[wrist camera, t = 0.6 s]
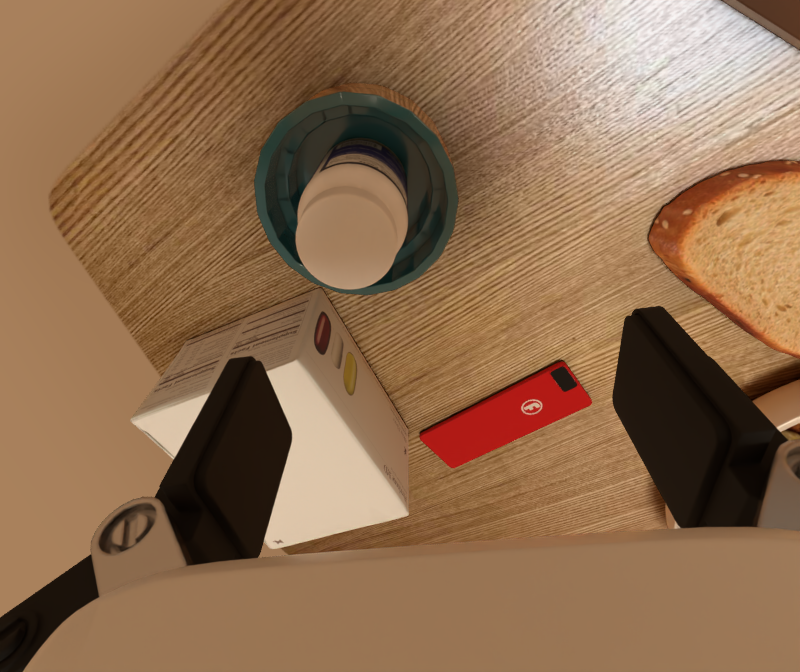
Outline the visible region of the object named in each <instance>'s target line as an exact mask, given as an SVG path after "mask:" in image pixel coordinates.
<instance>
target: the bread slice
mask: <svg viewBox="0 0 800 672" xmlns="http://www.w3.org/2000/svg"><path fill="white" fill-rule="evenodd" d="M649 242H650V244H651V246H652V248H653V250H654V252H655V253H656V254H657V255H658V256H659V257H661V258H662V260H663V261H664V263H665V264H666V265H667V266H668V267H669V268H670V270H671V271H672V272H673V273H674V274H675V275H676V276H677V277H678V278H679V279H680V280H681V281H683V282H684V283H685V284H686V285H687V286H688V287H690V288H691V289H692V290H693V291H694V292H695V293H697V294H699V295H701V296H702V297H704V298H705V299H706V300H707V301H708V302H710V303H711V304H712V305H713V306H715V307H716V308H717V309H718V310H719V311H721V312H722V313H723V314H725V315H726V316H727V317H728V318H730V319H731V320H732V321H733V322H734V323H735V324H737V325H738V326H739V327H741V328H742V329H743V330H745V331H746V332H748V333H749V334H751V335H752V336H754V337H755V338H757V339H758V340H760V341H762V342H763V343H764V344H766V345H767V346H769V347H771V348H772V349H774V350H777V351H779V352H782V353H786V354H789V355H791V356H793V357H796V358H798V359H800V161H768V162H764V163H760V164H753V165H746V166H744V167H741V168H738V169H733V170H729V171H725V172H723V173H721V174H719V175H717V176H715V177H712V178H710V179H707V180H705V181H702V182H701V183H699V184H697V185H696V186H694V187H692V188H690V189H689V190H687V191H685V192H684V193H682V194H681V195H680V196H678V197H677V198H676V199H675V200H674V201H673V202H672V203H670V204H669V205H667V206H664V207H663V209H662V211H661V213H660V214H659V216H658V217H657V219H656V220H655V222H654V224H653V227H652V229H651V231H650V235H649Z"/></svg>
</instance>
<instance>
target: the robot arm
mask: <svg viewBox="0 0 800 672" xmlns="http://www.w3.org/2000/svg"><path fill="white" fill-rule="evenodd" d="M612 398H613V405H614V408H615V411H616V413H617V414H618V416H619V418H620V420H621V422H622V424H623V426H624V427H625V429H626V431H627V433H628V435H629V437H630V438H631V440H632V442H633V444H634V446H635V448H636V449H637V451H638V453H639V455H640V457H641V459H642V461H643V462H644V464H645V466H646V468H647V470H648V472H649V473H650V475H651V477H652V479H653V481H654V483H655V485H656V486H657V488H658V490H659V492H660V494H661V496H662V497H663V499H664V501H665V503H666V505H667V507H668V508H669V510H670V512H671V514H672V516H673V518H674V520H675V521H676V523H677V524H678V526H679V527H680V528H679V529H659V530H639V531H621V532H606V533H591V534H576V535H561V536H546V537H530V538H515V539H501V540H487V541H473V542H458V543H444V544H430V545H416V546H402V547H389V548H375V549H362V550H349V551H336V552H323V553H310V554H297V555H284V556H273V557H262V558H258V556H259V555H260V552H261V549H262V545H263V542H264V539H265V535H266V532H267V528H268V524H269V521H270V517H271V514H272V510H273V507H274V503H275V500H276V496H277V493H278V489H279V486H280V482H281V479H282V475H283V472H284V468H285V465H286V461H287V458H288V454H289V451H290V447H291V443H292V430H291V428H290V425H289V423H288V421H287V418H286V416H285V414H284V411H283V409H282V407H281V405H280V402H279V400H278V398H277V395H276V393H275V391H274V388H273V386H272V384H271V382H270V379H269V377H268V375H267V372H266V370H265V368H264V366H263V364H262V362H261V361H259V360H258V361H256V360H255V358H254V357H252V356H246V357H238V358H231V359H229V360H228V362H227V363H226V365H225V367H224V369H223V371H222V372H221V374H220V376H219V378H218V380H217V382H216V383H215V385H214V387H213V389H212V391H211V393H210V394H209V396H208V398H207V400H206V402H205V403H204V405H203V407H202V409H201V411H200V413H199V414H198V416H197V418H196V420H195V422H194V424H193V425H192V427H191V429H190V431H189V433H188V435H187V436H186V438H185V440H184V442H183V444H182V446H181V447H180V449H179V451H178V453H177V455H176V456H175V458H174V460H173V462H172V464H171V466H170V467H169V469H168V471H167V473H166V475H165V477H164V479H163V480H162V482H161V484H160V488H159V490H158V492H157V494H156V496H155V497H141V498H137V499H133V500H131V501H129V502H127V503H125V504H123V505H121V506H120V507H119V508H117V509H116V510H114V511H113V512H112V513H111V514H110V515H108V516H107V517H106V518H105V520H104V521H102V523H101V524H100V526H99V527H98V528H97V530H96V531H95V533H94V536H93V538H92V541H91V555H89V556H88V557H86V558H85V559H83V560H82V561H81V562H79V563H78V564H77V565H75V566H73V567H72V568H70V569H69V570H68V571H66V572H65V573H64V574H62V575H60V576H59V577H58V578H56V579H55V580H54V581H52V582H51V583H49V584H48V585H46V586H45V587H43V588H42V589H40V590H39V591H38V592H36V593H35V594H33V595H32V596H30V597H29V598H28V599H26V600H25V601H23V602H22V603H20V604H19V605H17V606H16V607H15V608H13V609H12V610H10V611H9V612H7V613H6V614H4V615H3V616H2V617H1V618H0V672H800V439H794V440H789V441H788V440H787V438H786V437H785V436H784V435H783V434H782V433H781V432H780V431H779V430H778V429H777V428H776V427H775V426H774V424H773V423H772V422H771V421H770V420H769V419H768V418H767V417H766V416H765V415H764V414H763V413H762V411H761V410H760V409H759V408H758V407H757V406H756V405H755V404H754V403H753V402H752V401H751V400H750V398H749V397H748V396H747V395H746V394H745V393H744V392H743V391H742V390H741V389H740V388H739V387H738V385H737V384H736V383H735V382H734V381H733V380H732V379H731V378H730V377H729V376H728V375H727V374H726V372H725V371H724V370H723V369H722V368H721V367H720V366H719V365H718V364H717V363H716V362H715V361H714V360H713V359H712V358H711V357H709V356H707V354H706V353H705V352H704V351H703V350H702V349H701V348H700V347H699V346H698V345H697V344H696V342H695V341H694V340H693V339H692V338H691V337H690V336H689V335H688V334H687V333H686V332H685V330H684V329H683V328H682V327H681V326H680V325H679V324H678V323H677V322H676V321H675V320H674V318H673V317H672V316H671V315H670V314H669V313H668V312H667V311H666V310H665V309H664V308H663V307H661V306H656V307H648V308H639V309H635V310H634V311H633V312H632V315H631V316H627V317H626V318H625V321H624V327H623V333H622V339H621V346H620V352H619V358H618V364H617V371H616V377H615V383H614V390H613V397H612Z"/></svg>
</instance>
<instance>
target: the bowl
mask: <svg viewBox="0 0 800 672" xmlns="http://www.w3.org/2000/svg"><path fill="white" fill-rule="evenodd" d="M752 402H753V403H754V404H755V405H756V406H757V407H758V408H759V409H760V410H761V411H762V413H763V414H764V415H765V416H766V417H767V418H768V419H769V420H770V421H771V422H772V423H773V424H774V426H775V427H776V428H777V429H778V430H779V431H780V432H781V433H782V434H783V435H784V436H785V437H786V438H787V440H788V441H789V440H794V439H800V379H799V380H797V381H794V382H791V383H789V384H787V385H784V386H782V387H779V388H777V389H775V390H773V391H771V392H769V393H766V394H765V395H763V396H761V397H759V398H757V399H755V400H753V401H752ZM665 511H666V521H667V526H668V529H679V528H680V527H679V526H678V524H677V523H676V521H675V520H674V518H673V516H672V514H671V512H670V510H669V508H668V507H667V505H665Z"/></svg>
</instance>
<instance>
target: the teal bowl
mask: <svg viewBox="0 0 800 672" xmlns="http://www.w3.org/2000/svg"><path fill="white" fill-rule="evenodd" d="M353 138H368V139H372V140H375V141H378V142H380V143H382V144H384V145H385V146H387V147H388V148H389V149H390V150H392V151H393V152H394V153H395V155H396V156H397V157H398V159H399V160H400V162H401V163H402V165H403V168H404V171H405V174H406V178H407V191H408V228H407V233H406V237H405V240H404V242H403V244H402V246H401V248H400V250H399V251H398V252H397V254H396V256H395V259H394V262H393V264H392V266H391V268H390V269H389V271H388V272H387V273H386V274H385V275H384V276H383V277H382V278H381V279H380V280H378V281H377V282H375V283H374V284H372V285H369V286H367V287H364V288H360V289H340V288H335V287H332V286H329V285H327V284H325V283H323V282H321V281H320V280H318V279H317V278H315V277H314V276H313V275H312V274H311V273H310V272H309V271H308V270H307V269H306V267H305V266H304V265H303V263H302V261H301V259H300V257H299V255H298V251H297V247H296V230H297V226H298V216H297V215H298V206H299V202H300V198H301V196H302V193H303V191H304V189H305V187H306V186H307V184H308V182H309V181H310V179H311V178H312V176H313V175H314V173H315V171H316V170H317V168H318V166H319V164H320V163H321V161H322V160H323V158H324V157H325V155H326V154H327V153H328V152H329V151H330V150H331V149H332V148H333V147H335V146H336V145H337V144H339V143H341V142H343V141H345V140H348V139H353ZM254 187H255V197H256V206H257V213H258V216H259V219H260V221H261V223H262V226H263V228H264V230H265V233H266V235H267V237H268V239H269V242H270V243H271V245H272V246H273V247H274V248H275V250H276V251H277V252H278V253H279V254H280V256H281V257H282V258H283V259H284V261H285V262H286V263H287V264H288V265H289V266H290V267H291V268H292V269H294V270H295V271H297V272H298V273H300V274H301V275H302V276H304V277H305V278H307V279H308V280H309V281H311V282H312V283H314V284H317V285H320V286H323V287H325V288H328V289H331V290H334V291H336V292H339V293H340V292H341V293H346V294H358V295H372V294H377V293H382V292H387V291H392V290H395V289H398V288H400V287H402V286H404V285H406V284H408V283H410V282H411V281H413V280H415V279H417V278H419V277H420V276H422V275H423V274H424V273H425V272H426V271H427V270H428V269H429V268H430V267H431V266H432V265H433V264H434V263H435V262H436V261H437V259H438V258H439V257H440V256H441V255H442V253H443V251H444V249H445V247H446V245H447V243H448V241H449V239H450V237H451V235H452V233H453V230H454V226H455V220H456V214H457V207H458V199H459V198H458V192H457V186H456V179H455V173H454V168H453V164H452V161H451V158H450V155H449V152H448V149H447V147H446V145H445V143H444V141H443V139H442V137H441V135H440V133H439V131H438V129H437V127H436V125H435V123H434V122H433V120H432V119H431V118H430V117H429V116H428V115H427V114H426V113H425V112H424V111H423V110H422V109H421V108H420V107H419V106H418V105H417V104H416V103H415V102H414V101H413V100H411V99H410V98H408V97H406V96H404V95H402V94H400V93H397V92H395V91H393V90H391V89H389V88H387V87H385V86H381V85H374V84H363V83H347V84H343V85H340V86H336V87H332V88H329V89H325V90H322V91H320V92H319V93H317V94H316V95H314V96H313V97H311V98H310V99H309V100H307V101H306V102H304V103H303V104H302V105H300V106H299V107H298V108H296V109H295V110H293V111H292V112H291V113H289V114H288V115H287V116H285V117H284V118H283V119H281V120H280V121H279V122H278V124H277V125H276V127H275V128H274V130H273V131H272V133H271V135H270V136H269V138H268V139H267V141H266V142H265V144H264V146H263V147H262V149H261V152H260V156H259V161H258V165H257V170H256V174H255V179H254Z"/></svg>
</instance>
